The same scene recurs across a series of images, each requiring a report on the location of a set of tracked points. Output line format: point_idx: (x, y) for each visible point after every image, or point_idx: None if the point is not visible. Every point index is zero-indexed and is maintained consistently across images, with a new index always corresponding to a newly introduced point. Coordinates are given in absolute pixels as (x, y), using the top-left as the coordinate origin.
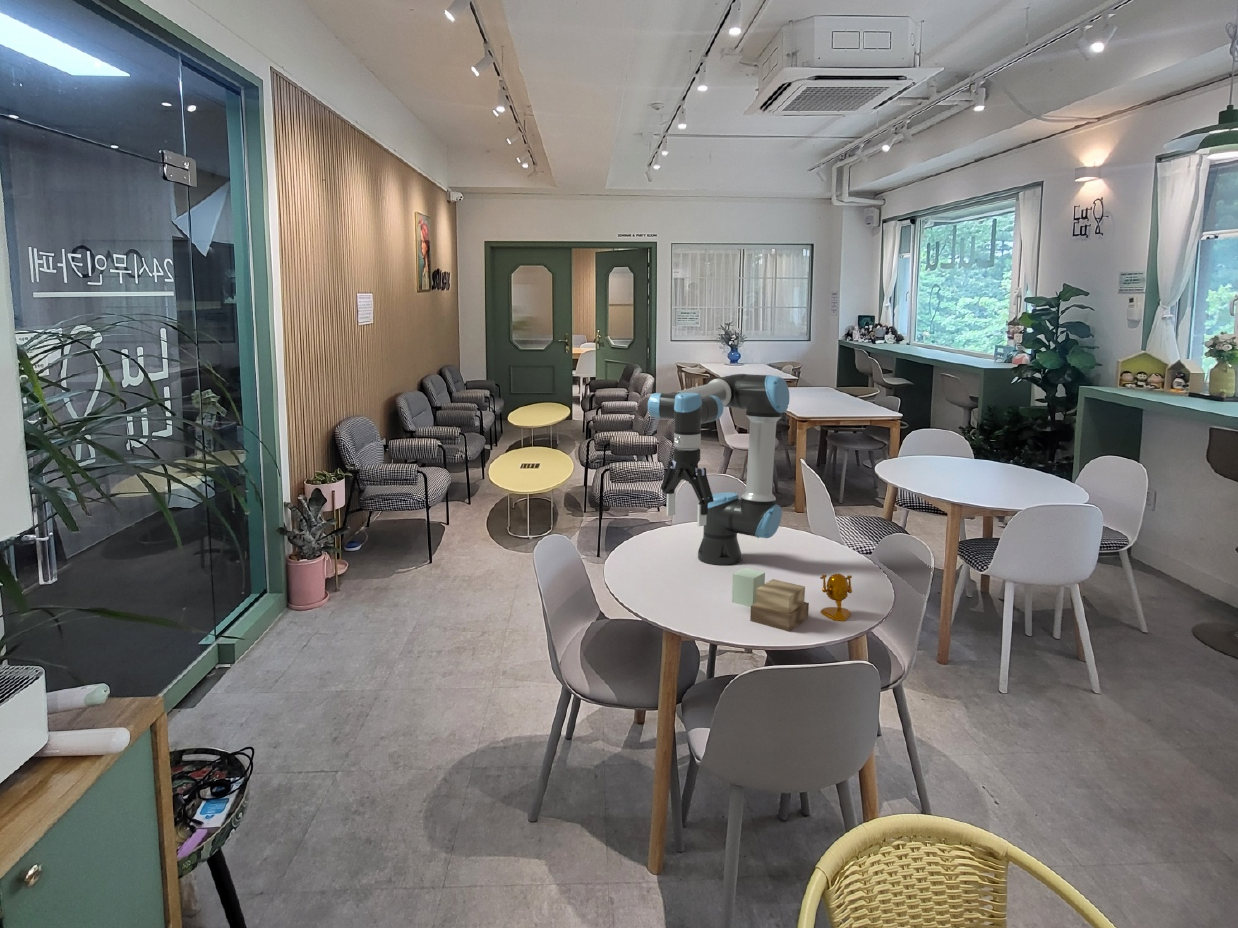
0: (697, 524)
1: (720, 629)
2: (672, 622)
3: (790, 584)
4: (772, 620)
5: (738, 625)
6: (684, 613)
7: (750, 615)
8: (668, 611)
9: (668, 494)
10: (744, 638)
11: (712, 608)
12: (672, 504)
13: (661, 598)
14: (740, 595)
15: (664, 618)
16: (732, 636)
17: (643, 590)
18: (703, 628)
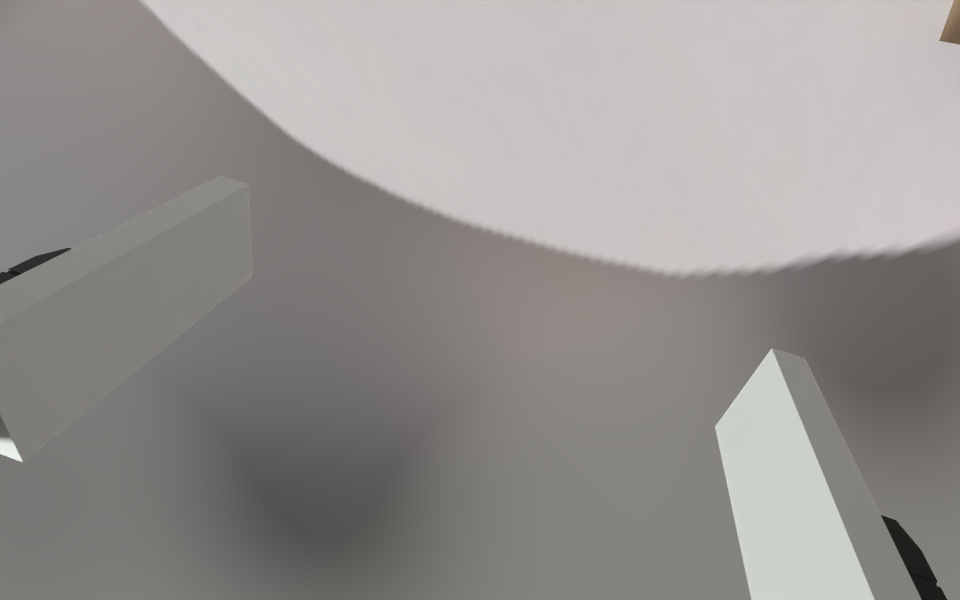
0: (721, 442)
1: (816, 212)
2: (613, 256)
3: None
4: None
5: (887, 129)
6: (607, 158)
7: (955, 43)
8: (544, 179)
9: (18, 457)
10: (949, 234)
11: (691, 22)
12: (154, 287)
13: (437, 76)
14: None
15: (569, 242)
16: (889, 243)
17: (324, 47)
18: (744, 240)
